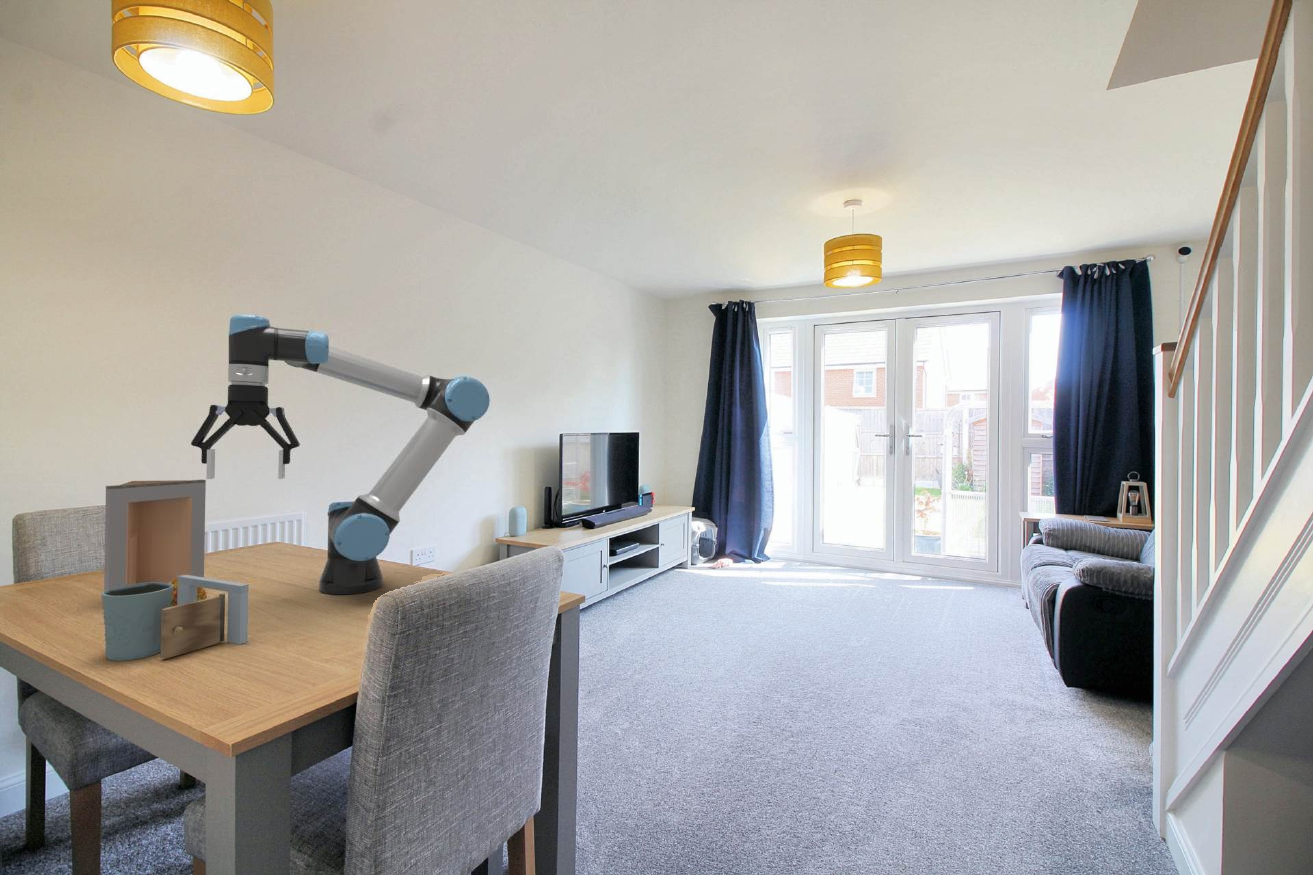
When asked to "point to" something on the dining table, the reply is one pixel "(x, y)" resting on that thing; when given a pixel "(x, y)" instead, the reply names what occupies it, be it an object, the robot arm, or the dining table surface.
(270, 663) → the dining table surface
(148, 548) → the cabinet
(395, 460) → the robot arm
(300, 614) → the dining table surface
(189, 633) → the door
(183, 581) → the grey rectangular arch
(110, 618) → the teal cup
